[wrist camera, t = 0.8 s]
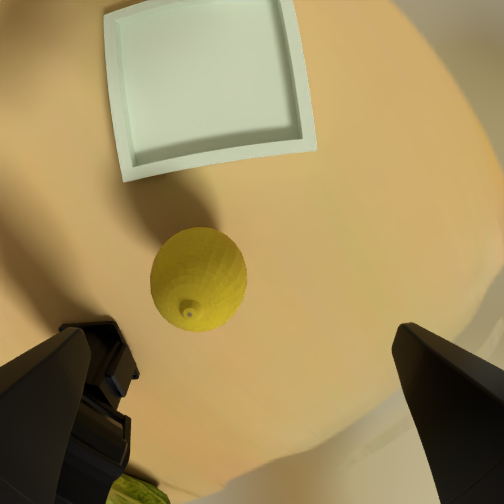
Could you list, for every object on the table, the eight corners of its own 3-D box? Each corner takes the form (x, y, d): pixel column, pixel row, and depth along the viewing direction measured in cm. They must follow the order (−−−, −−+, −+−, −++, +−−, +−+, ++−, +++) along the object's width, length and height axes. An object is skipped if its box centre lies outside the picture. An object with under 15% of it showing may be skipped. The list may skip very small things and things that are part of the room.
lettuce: (35, 438, 33) (54, 406, 31) (146, 503, 38) (188, 484, 36) (5, 492, 19) (13, 475, 17) (137, 560, 24) (182, 556, 22)
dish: (132, 178, 19) (123, 182, 17) (112, 23, 14) (103, 15, 12) (310, 149, 19) (317, 150, 17) (283, -9, 14) (287, -20, 12)
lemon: (175, 204, 19) (140, 245, 12) (254, 225, 20) (265, 278, 13) (160, 275, 21) (129, 343, 14) (232, 293, 22) (233, 368, 15)
